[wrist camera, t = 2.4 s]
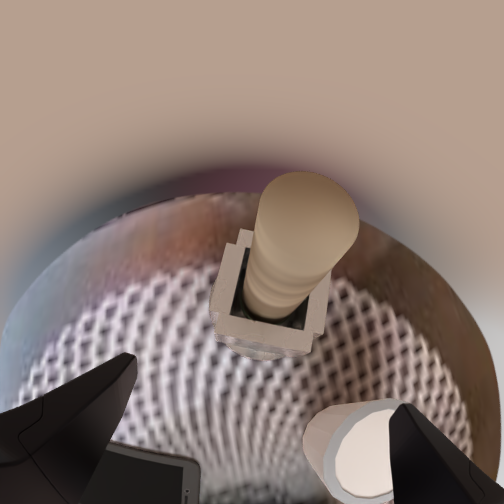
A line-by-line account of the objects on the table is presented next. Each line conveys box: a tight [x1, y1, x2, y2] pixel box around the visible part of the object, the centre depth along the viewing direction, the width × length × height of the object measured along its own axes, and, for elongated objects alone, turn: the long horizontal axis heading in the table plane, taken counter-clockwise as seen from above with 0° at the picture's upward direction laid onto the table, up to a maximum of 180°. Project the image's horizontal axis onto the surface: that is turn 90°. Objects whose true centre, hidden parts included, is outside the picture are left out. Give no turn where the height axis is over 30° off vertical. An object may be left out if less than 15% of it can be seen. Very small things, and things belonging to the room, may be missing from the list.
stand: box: [209, 228, 332, 361], centre depth 20 cm, size 8×8×5 cm
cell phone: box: [78, 442, 200, 504], centre depth 16 cm, size 7×14×1 cm, turn 85°
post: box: [240, 171, 359, 326], centre depth 16 cm, size 4×4×12 cm
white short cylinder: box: [303, 398, 409, 504], centre depth 16 cm, size 7×7×7 cm
